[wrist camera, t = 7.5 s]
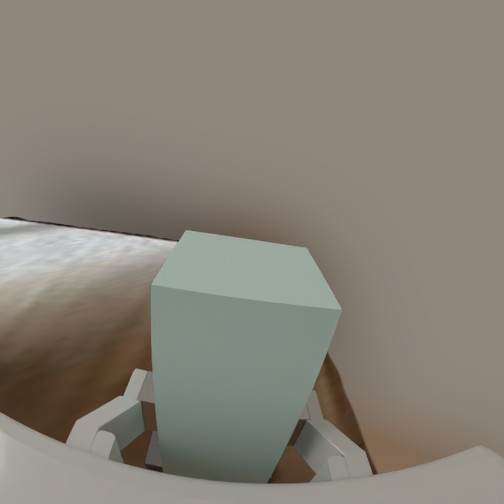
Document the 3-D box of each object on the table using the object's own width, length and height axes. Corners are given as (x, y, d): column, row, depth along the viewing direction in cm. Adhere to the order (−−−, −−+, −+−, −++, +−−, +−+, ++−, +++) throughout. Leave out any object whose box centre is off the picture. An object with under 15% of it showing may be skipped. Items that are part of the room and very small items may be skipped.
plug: (245, 519, 11) (341, 309, 6) (170, 512, 10) (151, 284, 6) (244, 465, 14) (306, 248, 10) (178, 457, 14) (186, 230, 10)
